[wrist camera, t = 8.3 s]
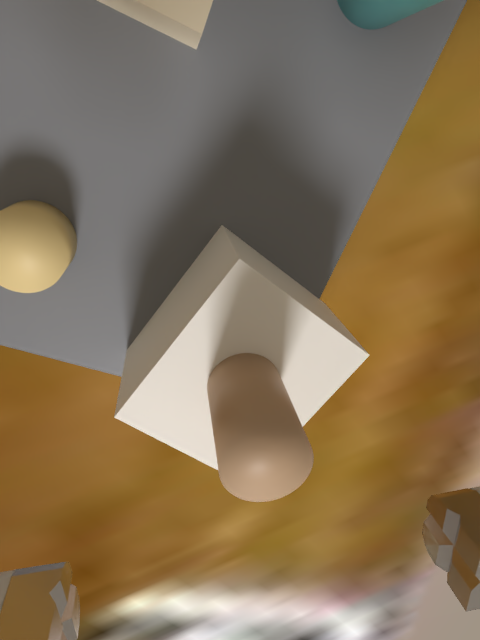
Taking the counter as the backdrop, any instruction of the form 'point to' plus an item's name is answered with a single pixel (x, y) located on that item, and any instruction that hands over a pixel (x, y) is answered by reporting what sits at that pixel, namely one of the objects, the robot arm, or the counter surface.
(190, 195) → the board
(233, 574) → the counter surface
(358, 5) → the pin
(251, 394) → the cover
